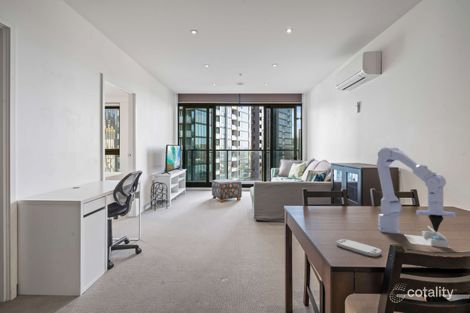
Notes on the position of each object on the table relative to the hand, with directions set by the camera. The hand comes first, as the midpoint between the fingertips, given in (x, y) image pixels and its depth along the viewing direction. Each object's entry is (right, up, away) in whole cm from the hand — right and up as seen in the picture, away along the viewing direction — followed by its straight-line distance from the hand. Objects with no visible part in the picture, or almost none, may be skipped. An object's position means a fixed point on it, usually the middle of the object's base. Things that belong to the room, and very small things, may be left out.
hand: (435, 231), depth 124 cm
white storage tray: (-3, -5, +3) cm, 7 cm away
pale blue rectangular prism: (+1, -5, 0) cm, 5 cm away
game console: (-39, -6, -8) cm, 40 cm away
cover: (+1, -1, 0) cm, 1 cm away
